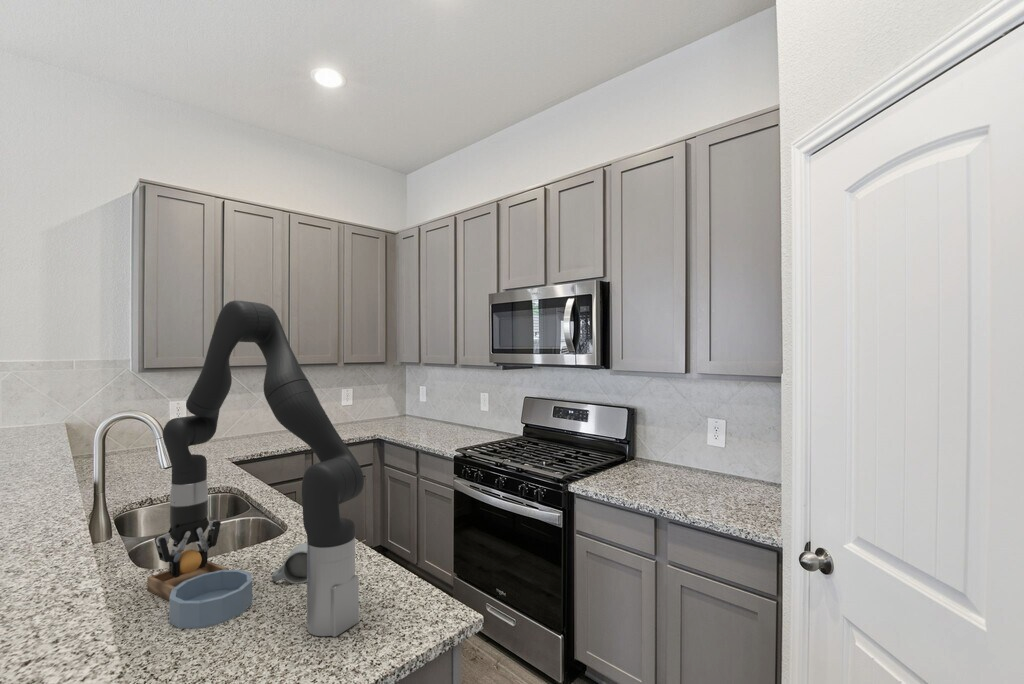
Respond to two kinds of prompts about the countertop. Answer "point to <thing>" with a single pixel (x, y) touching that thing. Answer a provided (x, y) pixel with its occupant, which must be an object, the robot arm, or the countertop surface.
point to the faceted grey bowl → (210, 598)
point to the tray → (176, 579)
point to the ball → (189, 561)
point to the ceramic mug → (294, 566)
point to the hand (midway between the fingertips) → (188, 571)
